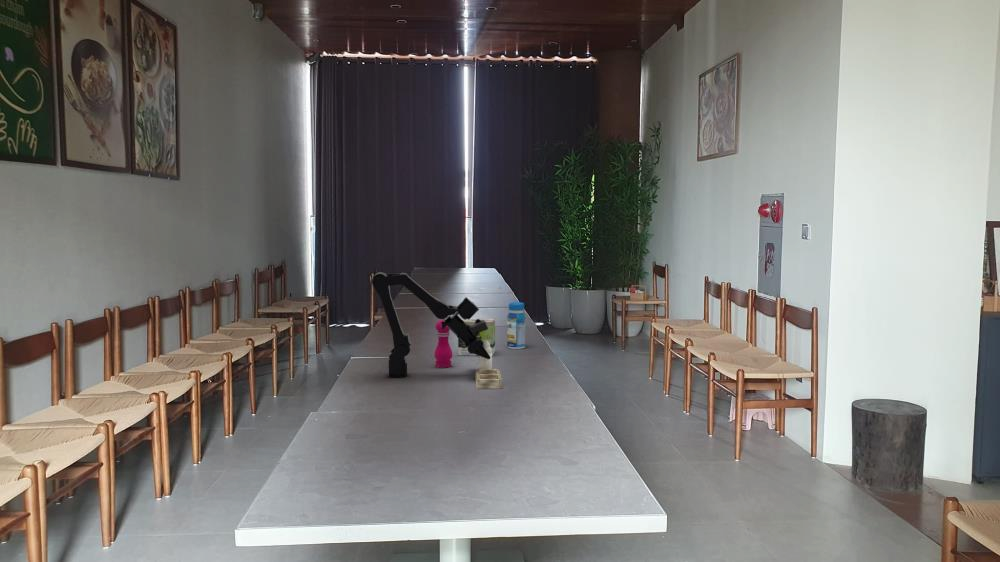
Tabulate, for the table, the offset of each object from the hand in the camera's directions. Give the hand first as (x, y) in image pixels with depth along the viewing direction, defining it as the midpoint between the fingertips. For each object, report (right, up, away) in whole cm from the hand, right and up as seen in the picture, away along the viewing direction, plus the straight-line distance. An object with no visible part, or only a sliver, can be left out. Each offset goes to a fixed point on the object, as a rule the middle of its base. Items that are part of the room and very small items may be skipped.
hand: (489, 357), depth 283 cm
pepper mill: (-18, -5, +14) cm, 24 cm away
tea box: (-6, -3, +38) cm, 39 cm away
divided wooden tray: (0, -8, -12) cm, 15 cm away
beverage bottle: (+11, -1, +52) cm, 53 cm away
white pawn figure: (-1, -7, +1) cm, 7 cm away
